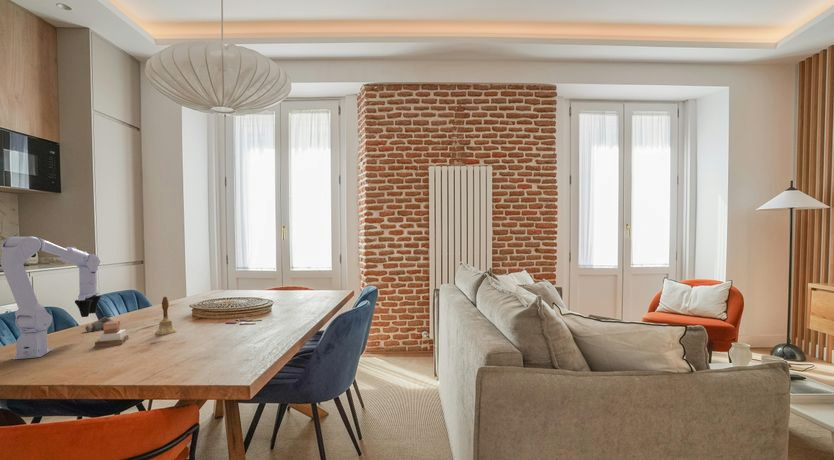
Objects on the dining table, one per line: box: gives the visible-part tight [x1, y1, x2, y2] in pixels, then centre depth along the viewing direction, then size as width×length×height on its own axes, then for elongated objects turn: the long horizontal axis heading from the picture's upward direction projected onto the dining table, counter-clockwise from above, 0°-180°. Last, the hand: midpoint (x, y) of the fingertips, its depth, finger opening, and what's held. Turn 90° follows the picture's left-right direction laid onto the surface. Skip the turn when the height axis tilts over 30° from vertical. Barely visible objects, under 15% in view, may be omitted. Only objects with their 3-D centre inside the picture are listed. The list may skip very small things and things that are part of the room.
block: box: [103, 320, 121, 334], centre depth 170 cm, size 4×4×4 cm
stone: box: [85, 316, 113, 333], centre depth 194 cm, size 10×6×8 cm
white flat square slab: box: [98, 329, 127, 341], centre depth 170 cm, size 7×7×2 cm
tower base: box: [94, 334, 129, 348], centre depth 170 cm, size 9×9×2 cm
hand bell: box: [154, 296, 177, 336], centre depth 187 cm, size 8×8×16 cm
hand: (88, 315), depth 175 cm, fingers open, 7 cm apart
